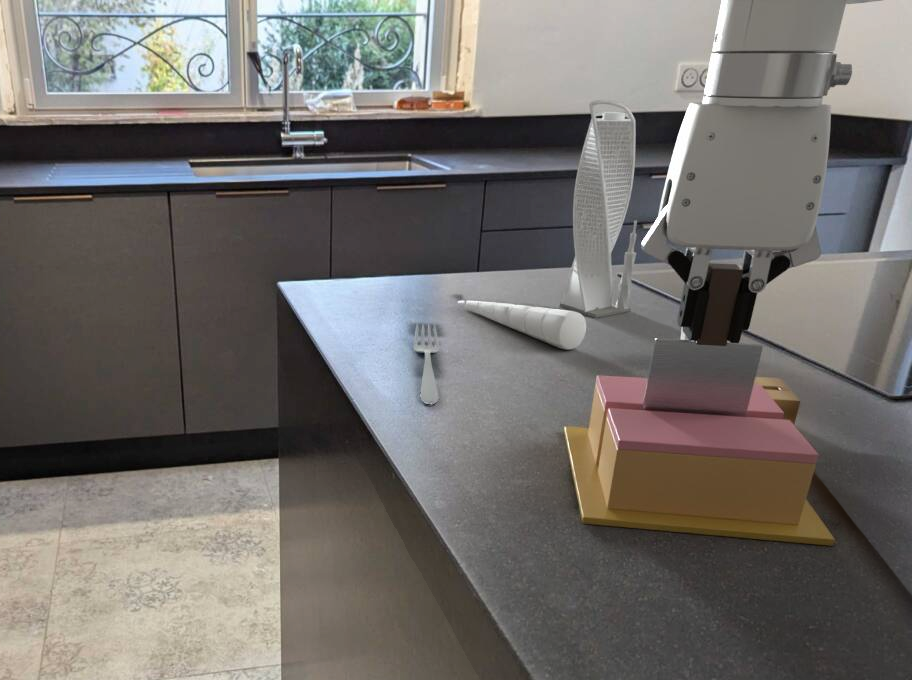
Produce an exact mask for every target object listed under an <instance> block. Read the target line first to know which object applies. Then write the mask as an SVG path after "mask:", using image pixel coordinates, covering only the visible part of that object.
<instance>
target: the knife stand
mask: <svg viewBox="0 0 912 680" xmlns="http://www.w3.org/2000/svg"><path fill="white" fill-rule="evenodd" d="M754 385H761V386H762V387H763V388H764V389H765V391H766V392H767V393H768V394H769V395H770V397H771V398H772V399H773V400H774V401H775V403H776V404H777V405H778V406H779V407H780V409H781V410H782V411H783V412H784V416H783V420H790V421H791V422H792V423H793V424H794V425H795V423H796V420H797V417H798V413H799V410H800V405H801V403H802V402H801V399H800V398H799V397H798V396H797V395H796V394H795V392H793V390H792V389H791V388H790V387H789V386H788V385H787V384H786V383H785V382H784V381H783V379H782V378H780V377H767V376H756V377H755V381H754Z"/></svg>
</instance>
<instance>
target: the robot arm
mask: <svg viewBox="0 0 912 680" xmlns="http://www.w3.org/2000/svg"><path fill="white" fill-rule="evenodd" d="M880 1H883V0H721V2H720V7H719V12H718V17H717V22H716V29H715V32H714V33H715V34H714V39H713V43H712V51H711V52H712V53H711V54H710V59H709V65H708V71H707V75H706V81H705V86H704V90H703V96H702V101H699V102H698V101H697V102H689V104H688V107H687V109H686V111H685V114H684V117H683V120H682V122H681V125H680V128H679V131H678V134H677V137H676V141H675V145H674V147H673V151H672V155H671V159H670V163H669V166H668V170H667V174H666V178H665V182H664V187H663V190H662V195H661V199H660V204H659V209H658V214H657V218H656V220H654V223H653V224H652V225H651V227H650V229H649V230H648V232H647V234H646V235H645V237H644V238H643V240H642V241H641V242H640V243H641V244H640V247H641V250H642V251H643V252H644V253H645V254H646V255H649V256H650V257H652V258H654V259H656V260H658V261H660V262H662V263H664V264H666V265H669V266H670V267H671V269H673V271H674V272H675V273H676V274H677V275H678V277H679V278H680V279H681V280H682V281H683V283H684V285H683V288H682V293H681V298H680V299H681V300H680V305H679V308H678V315H677V326H678V327H680V328H682V327H683V332H684V334H685V335H686V336H687V338H688V339H689V341H697V340H698V339H700V338H701V333H702V329H703V324H704V319H705V314H706V310H707V305H708V300H709V295H710V293H709V291H707V290H706V284H707V281H706V280H705V279H706V275H707V271H708V267H709V263H711V258H712V253H713V250H714V249H716V250H735V251H737V250H738V251H742V250H743V254H742V259H741V264H740V268H741V269H742V270H743V274H742V279H741V283H740V288H739V292H738V295H737V300H736V304H735V309H734V313H733V317H732V322H731V326H730V331H729V335H728V341H730V343H740V341H741V339H742V338H741V337H742V333H743V331H748V330H749V329H750V326H751V322H752V317H753V314H754V309H755V305H756V300H757V296H758V294H759V293H761V292H763V291H764V290H765V289H766V287H767V285H768V284H769V283H771V282H772V281H773V280H775V279H777V278H778V277H779V276H781V275H782V274H784V273H785V272H786V271H787V270H788V269H791V268H797V267H799V266H802V265H805V264H808V263H811V262H814V261H817V260H818V259H819V258H820V257H821V255H822V250H821V244H820V241H819V236H818V231H817V227H816V225H817V221H818V216H819V212H820V207H821V204H822V203H821V202H822V198H823V193H824V187H825V181H826V175H827V167H828V160H829V158H828V157H829V153H830V150H829V149H830V137H831V123H832V122H831V121H832V119H831V118H832V105H830V104H825V103H823V100H824V97H826V96H828V93H829V90H830V89H831V88H835V87H836V86H847V85H848V84H849V82H850V80H851V78H852V75H853V65H852V64H851V63H842V62H841V61H837V56H838V54H837V53H834V52H835V50H836V46H837V42H838V38H839V33H840V29H841V26H842V21H843V18H844V14H845V9H846V5H855V4H856V5H857V4H866V3H871V2H872V3H873V2H880ZM668 240H669V241H670V242H671V243H672V244H674V245H677V246H679V247H684V248H685V252H682V251H681V250H680V248H677V247H674V246H672V245H671V244H670V243H668Z"/></svg>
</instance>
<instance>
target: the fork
mask: <svg viewBox="0 0 912 680" xmlns="http://www.w3.org/2000/svg"><path fill="white" fill-rule="evenodd" d="M437 332H438V331H437V326H436V324H435V323H434V324H433V339H434V345H433V344H432V332H431V324H430V323H428V324H427V344H425V324H424V323H422V325H421V331H420V344H418V342H419V323H416V327H415V332H414V340H413V347H414V348H413V351H415V353H421V354H422V353H424V364H423V370H422V371H423V372H422V378H421V386H420V392H421V394H420V393H419V398H420V397H422V398H421V399H424V400H423V401H425V402H428V403H429V404H430V403H432V404H434V403H436V402H437V401H438V402H439V400H440V397H439V391H438V387H437V382H436V379H435V378H436V377H435V373H434V370H433V365H432V358H431V354H437V353H438V352H439V351H440V345H439V341H438V333H437ZM421 399H420V400H421ZM438 399H439V400H438ZM438 402H437V403H438ZM437 403H436V404H437Z"/></svg>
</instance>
